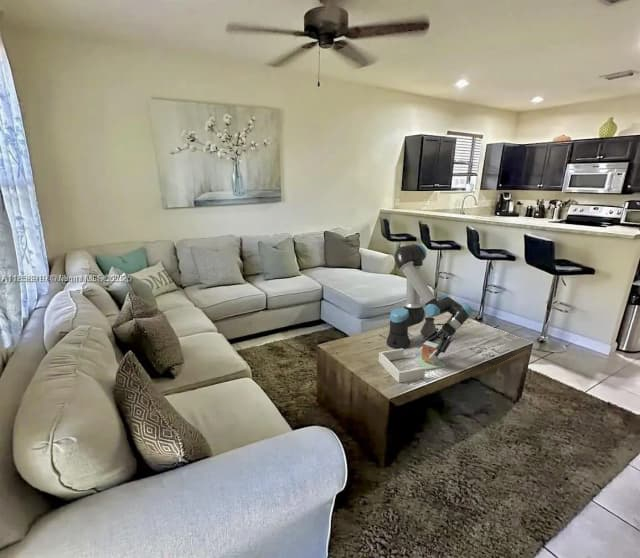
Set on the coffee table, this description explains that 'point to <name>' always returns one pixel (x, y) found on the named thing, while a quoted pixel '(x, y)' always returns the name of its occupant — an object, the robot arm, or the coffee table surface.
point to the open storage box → (398, 375)
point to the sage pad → (429, 364)
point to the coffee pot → (428, 327)
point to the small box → (429, 351)
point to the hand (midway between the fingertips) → (425, 354)
